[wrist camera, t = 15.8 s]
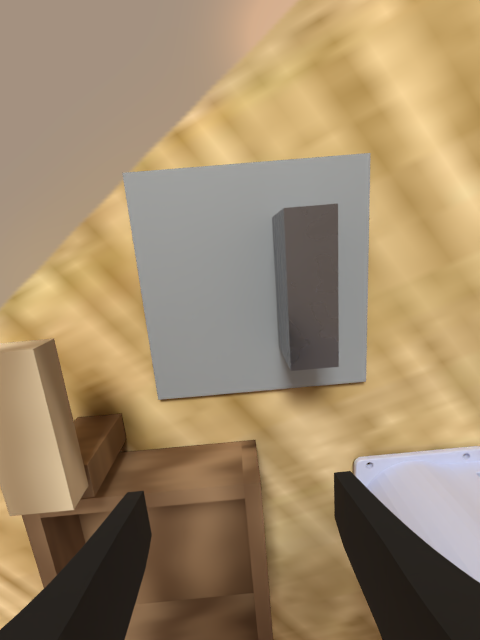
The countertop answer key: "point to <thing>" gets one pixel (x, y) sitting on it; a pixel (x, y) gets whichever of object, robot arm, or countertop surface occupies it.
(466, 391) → the countertop surface
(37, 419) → the thin wooden plank
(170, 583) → the box
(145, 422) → the countertop surface
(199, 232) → the lid
